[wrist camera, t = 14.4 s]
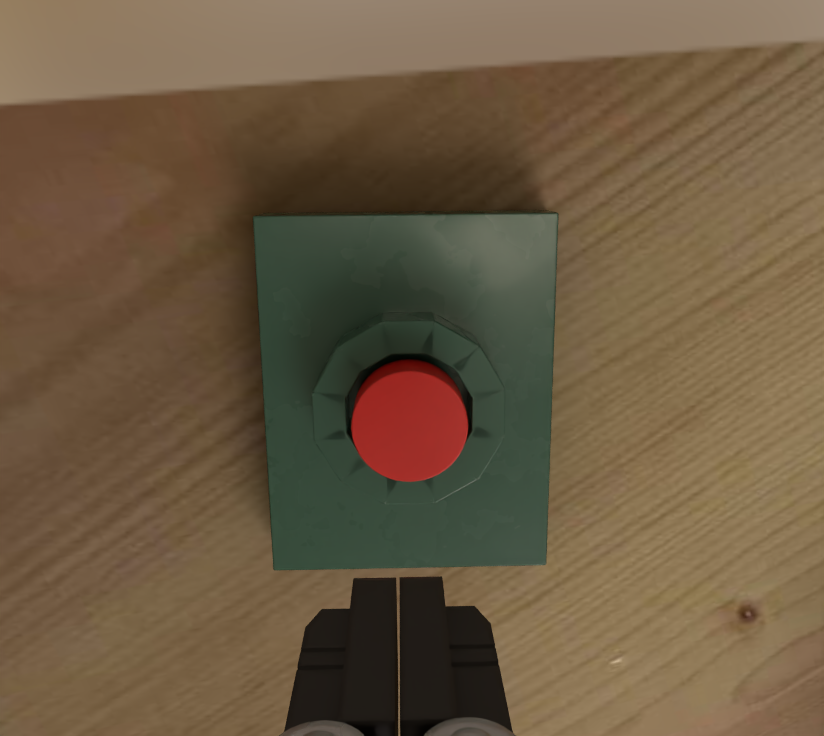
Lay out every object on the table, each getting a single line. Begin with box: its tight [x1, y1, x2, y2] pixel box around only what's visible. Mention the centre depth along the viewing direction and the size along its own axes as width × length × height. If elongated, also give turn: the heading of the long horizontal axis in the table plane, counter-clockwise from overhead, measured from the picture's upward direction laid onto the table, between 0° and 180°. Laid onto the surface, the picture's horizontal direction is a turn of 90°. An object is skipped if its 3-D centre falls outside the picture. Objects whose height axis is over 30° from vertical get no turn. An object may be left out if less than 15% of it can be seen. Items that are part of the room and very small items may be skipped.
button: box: [351, 359, 468, 482], centre depth 27 cm, size 4×4×2 cm
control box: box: [253, 210, 558, 570], centre depth 30 cm, size 14×11×4 cm
